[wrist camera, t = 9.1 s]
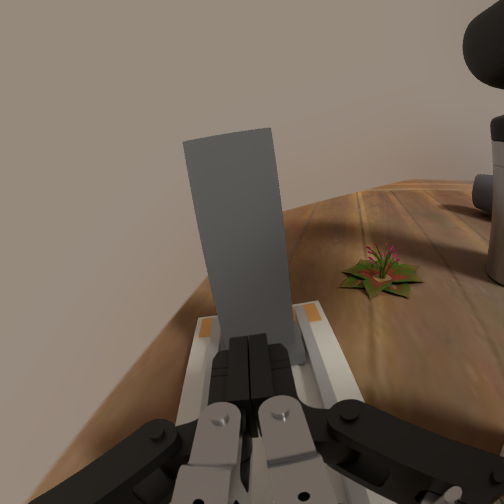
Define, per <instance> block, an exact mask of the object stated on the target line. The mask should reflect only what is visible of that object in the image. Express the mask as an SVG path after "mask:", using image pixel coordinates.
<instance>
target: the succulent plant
mask: <svg viewBox="0 0 504 504" xmlns="http://www.w3.org/2000/svg"><path fill="white" fill-rule="evenodd" d="M374 244H375V243H374ZM375 245H376V244H375ZM386 245H387V243H386ZM376 247H377V246H376ZM393 247H394V246H392V247H391V249H392V248H393ZM366 248H368V249H369V250H371V248H370V247H366ZM377 249H378V248H377ZM385 249H386V248H385ZM391 249H390V250H391ZM390 250H389V252H388V254H387V255H385V253H384V255H385V257H386V259H385V260H384V259H382V255H381V256H380V258H381V259H380V258H379V257H378V256H377V254H376V253H375V252H374V251H373V250H371V251H372V252H373V253H374V254H373V253H372V252H371V251H368V253H370V254H371V253H372V254H373V255H374V256H375V257H376V258H377V259H378V261H374V260H373V259H372V258H371V257H369V259H371V260H361V259H360V263H359V264H358V265H356V266H353V267H351V268H349V269H347V270H344V271H341V272H347V273H351V274H353V275H356V276H352V277H349V278H347V279H346V280H345V281H344V282H343V283H342V285H341V286H339V287H361V288H366V291H367V293H368V294H369V299H371V298H372V297H374V296H375V295H376V294H377V293H378V292H380V291H382V290H385V291H389V292H393V293H396V294H399V295H402V296H405V297H408V298H410V297H409V291H410V287H409V285H408V284H407V283H406V281H416V282H424V281H422V279H421V278H419V277H418V276H417V275H416V274H415V273H414V271H415V270H416V269H417V267H419V266H413V265H411V266H410V265H407V264H402V265H399V264H398V261H400V259H397V260H396V261H395V260H393V259H394V258H395V257H396V256H397V253H396V254H395V255H394V257H393V258H392V260H391V259H389V258H390V255H391V253H393V252H394V251H395V250H396V249H394V250H392V251H391V253H390ZM378 252H379V250H378ZM380 254H381V252H380V253H379V255H380ZM372 260H373V261H372ZM377 274H380V276H381V278H383V279H384V278H385V275H386V274H387V275H389V276H390V277H391V278H392V279H391V280H388V281H385V282H380V283H379V282H378V281H376V280H375V279H374V278H373V277H372V276H373V275H377ZM364 278H365V280H364V281H363V283H364V285H362V284H356V283H358V282H359V281H361V280H362V279H364ZM392 282H396V286H397V289H393V288H390V287H388V286H390V285H391V284H392ZM354 284H356V285H354Z"/></svg>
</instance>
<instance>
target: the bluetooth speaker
mask: <svg viewBox="0 0 504 504" xmlns="http://www.w3.org/2000/svg"><path fill="white" fill-rule="evenodd" d="M472 200H473V204H474V206H475V207H476V208H478V209H481V210H483V211H486V212H489V213H492V205H493V175H485V174H484V175H483V174H478V175H477V176H476V177H475V181H474V185H473V191H472Z"/></svg>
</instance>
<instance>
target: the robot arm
mask: <svg viewBox="0 0 504 504" xmlns="http://www.w3.org/2000/svg"><path fill="white" fill-rule="evenodd" d="M463 55H464V59H465V62H466V65H467V66H468V68H469V70H470V71H471V73H472V74H473V75H474V76H475V77H476V78H477V79H478V80H480V81H481V82H483V83H485V84H487V85H489V86H492V87H495V88H499V89H504V0H499V1H498V2H496V3H495V4H494V5H492V6H491V7H489V8H488V9H486V10H485V11H483V12H482V13H481V14H479V15H478V16H477V17H475V18H474V19H473V20H472V21H471V22H470V24H469V25H468V27H467V29H466V31H465V34H464V39H463ZM490 127H491V139H492V140H493V141H492V155H493V156H492V157H493V205H492V220H491V232H490V240H489V248H488V256H487V262H486V272H487V274H488V275H489V276H490V277H491V278H492V279H493V280H495V281H497V282H498V283H500V284H502V285H504V115H502V116H499V117H496V118H494V119H492V121H491V125H490ZM258 429H259V433H260V437H262V438H263V443H264V449H265V454H266V460H267V468H268V474H269V479H270V484H271V490H272V495H273V500H274V504H341V503H338V502H337V499H336V496H335V493H334V490H333V487H332V484H331V481H330V478H329V476H328V473H327V470H326V467H325V464H324V463H326V464H327V465H328V466H329V467H330V468H332V469H334V470H335V471H337V472H339V473H340V474H342V475H344V476H345V477H347V478H349V479H351V480H352V481H354V482H356V483H358V484H360V485H361V486H363V487H365V488H367V489H369V490H371V491H373V492H375V493H377V494H379V495H381V496H383V497H385V498H387V499H389V500H391V501H393V502H395V503H397V504H493V503H494V502H496V501H497V500H498V499H500V498H501V497H502V496H503V495H504V457H502V456H499V455H496V454H492V453H489V452H486V451H483V450H480V449H477V448H474V447H471V446H468V445H465V444H462V443H459V442H457V441H454V440H451V439H448V438H446V437H443V436H441V435H438V434H435V433H433V432H430V431H428V430H425V429H423V428H420V427H418V426H416V425H413V424H411V423H408V422H406V421H404V420H401V419H399V418H397V417H395V416H392V415H390V414H388V413H386V412H383V411H381V410H379V409H377V408H375V407H373V406H370V405H368V404H366V403H364V402H362V401H359V400H356V399H346V400H342V401H339V402H337V403H336V404H334V405H333V406H332V407H331V408H330V409H321V408H313V407H310V406H307V405H305V404H304V403H303V402H301V400H300V399H299V397H298V395H297V391H296V386H295V382H294V377H293V373H292V368H291V363H290V359H289V354H288V350H287V349H286V348H285V347H284V346H283V345H282V344H281V343H276V344H269V345H268V342H267V336H266V333H261V334H254V335H249V340H248V336H239V337H231V338H230V339H229V350H222V351H218V352H217V354H216V355H215V357H214V358H213V360H212V370H211V378H210V387H209V396H208V405H207V407H206V408H204V409H203V410H202V412H201V413H200V415H199V418H198V419H196V420H194V421H192V422H189V423H186V424H182V425H179V426H175V425H174V424H173V423H172V422H170V421H168V420H164V419H155V420H152V421H149V422H147V423H146V424H144V425H143V426H142V427H140V428H139V429H138V430H136V431H135V432H134V433H132V434H131V435H130V436H128V437H127V438H126V439H124V440H123V441H121V442H120V443H119V444H117V445H116V446H115V447H113V448H112V449H110V450H109V451H108V452H106V453H105V454H103V455H102V456H101V457H99V458H98V459H96V460H95V461H93V462H92V463H90V464H89V465H87V466H86V467H85V468H83V469H82V470H80V471H79V472H77V473H76V474H74V475H73V476H71V477H69V478H68V479H66V480H65V481H63V482H62V483H60V484H59V485H57V486H55V487H54V488H52V489H51V490H49V491H47V492H46V493H44V494H42V495H41V496H39V497H37V498H36V499H34V500H32V501H31V502H29V503H28V504H169V503H170V502H171V504H252V500H251V486H252V466H253V452H252V451H253V444H252V438H257V437H259V434H258Z"/></svg>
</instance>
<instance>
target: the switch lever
mask: <svg viewBox="0 0 504 504" xmlns="http://www.w3.org/2000/svg"><path fill="white" fill-rule="evenodd" d="M183 147H184V153H185V159H186V165H187V170H188V176H189V181H190V187H191V193H192V198H193V203H194V208H195V214H196V219H197V224H198V229H199V234H200V239H201V244H202V249H203V253H204V258H205V263H206V267H207V272H208V276H209V281H210V285H211V290H212V294H213V299H214V303H215V307H216V311H217V315H218V320H219V324H220V328H221V332H222V338H221V349H220V351H222V350H229V339H230V338H231V337H239V336H248V340H249V335H254V334H261V333H266V336H267V342H268V345H269V344H276V343H281V344H282V345H283V346H284V347H285V348H286V349H287V350H288V354H289V359H290V363H291V365H297V364H303V363H306V362H305V349H304V346H303V343H302V339H301V336H300V333H299V329H298V326H297V323H296V320H294V319H293V308H292V297H291V287H290V277H289V267H288V258H287V249H286V240H285V231H284V222H283V214H282V207H281V198H280V191H279V183H278V175H277V168H276V161H275V153H274V146H273V139H272V132H271V128H263V129H256V130H248V131H241V132H234V133H228V134H222V135H216V136H210V137H205V138H199V139H194V140H189V141H185V142H183Z"/></svg>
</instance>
